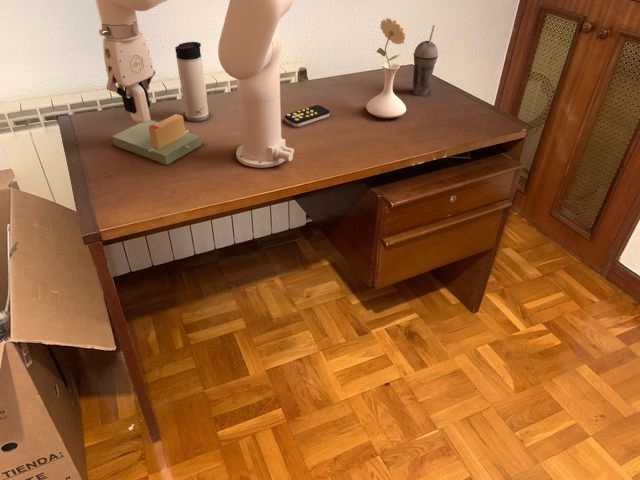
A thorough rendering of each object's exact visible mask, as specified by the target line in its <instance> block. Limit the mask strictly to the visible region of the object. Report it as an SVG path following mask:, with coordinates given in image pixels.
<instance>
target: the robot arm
mask: <svg viewBox="0 0 640 480" xmlns="http://www.w3.org/2000/svg"><path fill="white" fill-rule="evenodd" d="M167 1H168V0H95V4H96V9H97V12H98V18H99V21H100V26H101V29H99V30H98V33H99V35H100V36H101V37H104V38H102V50H103V52H102V53H103V60H104V67H105V71H106V75H107V84H106V90H107V91H111V92H113V93H116V94H117V95H118V96H120V97H121V98H122V103H123V107H124V110H125V112H128V113H130V112H131V113H136V112H137V111H136V107H135V102H134V98H133V97H131V92H130V86H131V85H133V84H136V83H139V85H140V86H141V87H142V88H143V90H144V92H145V96H146V100H147V105H148V108H150V107H151V103H150V97H149V90H150V83H151V82H152V79H153V77H154V76H155V75H156V70H155V69H154V65H153V64H154V63H153V60H152V56H151V52H150V49H149V45H148V43H147V40H146V38H145V36H144V34H143V32H141V31H140V29H139V28H140V27H139V24H138V17H137V13H136V12H146V11H149V10H151V9H153V8H155V7H157V6H159V5H161V4H163V3H165V2H167ZM293 3H294V0H229V3H228V7H227V10H226V14H225V17H224V22H223V25H222V29H221V33H220V37H219V39H218V40H219V41H218V46H217V55H218V61H219V63H220V66H221V68H222V69H223V70H224V72H225V73H226V74H227V75H229V76H230V77H232V78H234V79H235V80H236V89H237V90H236V91H237V103H238V114H239V116H238V117H239V128H240V138H241V139H240V140H241V145H239V146H238V148H237V149H236V152H235V156H236V159H237V161H238V162H239V163H241V164H242V165H244V166H247V167H249V168H250V167H251V168H256V169H257V168H258V169H259V168H260V169H263V168H271V167H276V166H279V165H281V164H282V163H284V162H285V161H287V162H291V161H293V159H294V153H295V149H294V148H292V147H289V146H287V145H286V139H285V138H282V115H281V114H282V112H281V111H282V110H281V61H282V48H283V47H282V37H281V34H280V31H279V28H278V24H279V22H280V19H282V18H283V16H285V15H286V14H287V13H288V11H289V10H290V9H291V7H292V5H293Z"/></svg>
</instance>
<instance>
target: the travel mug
mask: <svg viewBox="0 0 640 480" xmlns="http://www.w3.org/2000/svg"><path fill="white" fill-rule="evenodd" d="M201 47H202V44H201V42H198V41H187V42H183V43H179V44H178V45H177V46H175V47H174V49H175V55H176V56H175V57H176V64H177V69H178V76H179V83H180V89H181V94H182V100H183V101H182V102H183V108H184V114H185V118H186V120H188V121H189V122H195V123H196V122H197V123H199V122H203V121H206V120H207V119H208V118H209V116H210V113H209V105H208V97H207V90H206V83H205V75H204V66H203V59H202V54H201Z"/></svg>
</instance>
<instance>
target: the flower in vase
mask: <svg viewBox="0 0 640 480" xmlns="http://www.w3.org/2000/svg"><path fill="white" fill-rule="evenodd" d="M379 28H380V30H381V31H382V34H383V35H384V37H385V38H387V40H386V43H385V45H384V46H385V47H384V49H383V48H382V47H379V48H378V49H377V50H376V53H378V54H380V55H381V56H382V57H385V58H386V60H387V62H382V63H381V68H382V69H383V72H384V87H383V90H382V91H381V93H379V94H378V95H375V96H374V97H373V98H371V99H370V100H368V102H367V104H366V105H365V108H366V110H367V112H368V113H369V114H371V115H372V116H375V117H377V118H381V119H394V118H399V117H401V116H403V115H404V114H405V113H406V111H407V107H406V104H405V103H404V102H403V101H402V100H401V99H400V98H399V96H397V95H396V94H395V93H394V90H393V89H394V88H393V85H394V79H395V76H396V73H397V71H398V70H399V69H400V67H401V65H400V64H399V63H396V62H393V60H394V59H396V58H398V57H399V56H400V55H401V54H400V53H399V54H396V55H393V56H391V57H390V58H389V57H388V54H387V47H388V44H389V41H391V43H393V44H395V45H402V44H404V43H405V40H406V34H405V32H404V28H403V27H401V25H400V24H399V23H397V20H392V19H391V18H388V17H386V18H385V19H382V20H381V21H380V26H379ZM390 61H391V62H390Z"/></svg>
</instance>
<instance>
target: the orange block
mask: <svg viewBox="0 0 640 480" xmlns="http://www.w3.org/2000/svg"><path fill="white" fill-rule="evenodd" d="M157 122H158V121H157ZM185 131H186V127H185V122H184V116H183V115H181V114H178V113H175V114H172V115H171V116H169V117H167V118H165V119H163V120H161V121H159V122H158V123H156V124H154V125H151V126H149V132H150V137H151V142H152V146H153V147H155V148H158V149H160V148H162V147H164V146H166V145H167V144H169V143H171V142H173V141H175V140H177V139H179V138H181V137H183V136H184V135H186V133H185Z"/></svg>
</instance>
